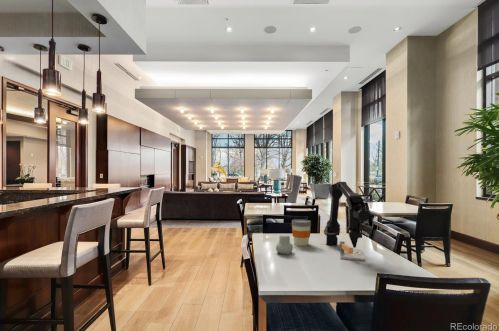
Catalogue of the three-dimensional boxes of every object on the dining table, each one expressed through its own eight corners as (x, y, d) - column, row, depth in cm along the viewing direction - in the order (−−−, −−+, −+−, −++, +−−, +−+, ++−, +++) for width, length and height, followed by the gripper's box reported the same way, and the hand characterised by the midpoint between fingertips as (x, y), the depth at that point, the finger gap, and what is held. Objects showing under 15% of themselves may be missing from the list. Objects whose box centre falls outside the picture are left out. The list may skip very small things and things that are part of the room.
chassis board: (340, 258, 152) (340, 253, 152) (339, 249, 171) (339, 244, 172) (364, 261, 149) (364, 255, 149) (361, 251, 168) (361, 246, 168)
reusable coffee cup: (313, 243, 186) (313, 220, 186) (306, 247, 175) (306, 223, 176) (296, 240, 193) (296, 218, 193) (288, 244, 182) (288, 221, 182)
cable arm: (338, 247, 163) (338, 241, 163) (343, 247, 163) (343, 241, 163) (348, 253, 150) (348, 247, 150) (353, 253, 150) (353, 247, 150)
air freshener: (289, 256, 156) (289, 238, 157) (275, 254, 159) (275, 236, 159) (293, 251, 167) (293, 234, 167) (279, 249, 170) (279, 232, 170)
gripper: (373, 222, 140) (373, 253, 140) (368, 216, 158) (368, 244, 158) (349, 220, 144) (349, 251, 143) (347, 215, 161) (347, 243, 161)
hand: (354, 247), depth 151 cm, fingers closed
